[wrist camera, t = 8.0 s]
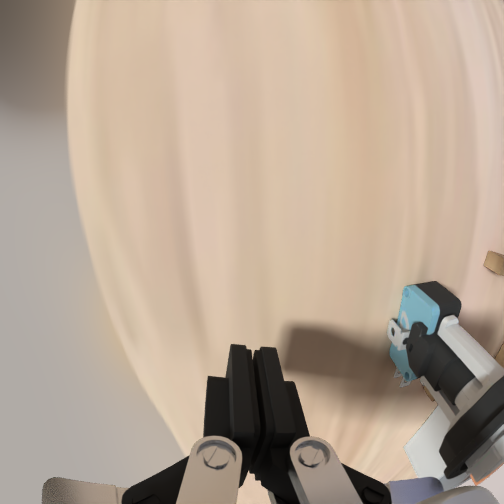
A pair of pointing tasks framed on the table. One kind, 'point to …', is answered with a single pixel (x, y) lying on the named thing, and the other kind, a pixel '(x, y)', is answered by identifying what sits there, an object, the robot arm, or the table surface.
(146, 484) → the robot arm
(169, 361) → the table surface
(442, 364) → the push button
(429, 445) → the box
